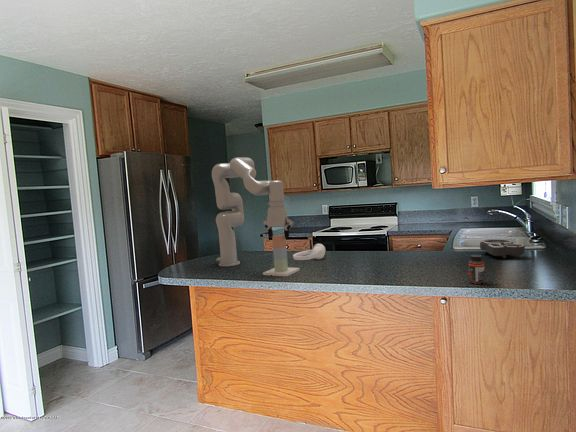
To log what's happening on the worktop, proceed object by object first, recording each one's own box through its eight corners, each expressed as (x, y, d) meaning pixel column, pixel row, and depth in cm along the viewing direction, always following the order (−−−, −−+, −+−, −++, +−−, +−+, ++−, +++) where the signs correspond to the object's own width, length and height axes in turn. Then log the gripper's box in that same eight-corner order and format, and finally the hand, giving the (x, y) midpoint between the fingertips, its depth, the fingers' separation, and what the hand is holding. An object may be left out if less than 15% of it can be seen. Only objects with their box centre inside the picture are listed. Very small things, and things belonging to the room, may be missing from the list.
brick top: (273, 248, 208) (272, 236, 207) (277, 246, 212) (277, 235, 212) (281, 248, 205) (280, 236, 205) (286, 246, 210) (285, 235, 209)
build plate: (262, 275, 207) (261, 261, 207) (276, 269, 219) (275, 255, 219) (286, 276, 200) (285, 262, 200) (299, 270, 212) (298, 256, 212)
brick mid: (273, 259, 208) (272, 248, 208) (278, 257, 213) (277, 246, 212) (282, 260, 206) (281, 248, 205) (287, 258, 210) (286, 246, 210)
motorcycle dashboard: (475, 252, 228) (475, 239, 228) (506, 250, 226) (505, 238, 226) (494, 261, 202) (493, 247, 202) (528, 259, 200) (528, 245, 200)
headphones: (326, 253, 254) (295, 258, 257) (324, 241, 253) (293, 246, 256) (325, 260, 234) (291, 264, 237) (323, 246, 234) (289, 251, 237)
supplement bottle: (466, 281, 168) (465, 254, 167) (480, 280, 168) (479, 253, 168) (473, 285, 162) (472, 257, 161) (488, 284, 163) (487, 256, 162)
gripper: (258, 205, 209) (260, 238, 210) (288, 205, 200) (289, 239, 202) (266, 204, 215) (268, 236, 217) (295, 203, 206) (296, 237, 208)
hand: (278, 237), depth 209 cm, fingers open, 9 cm apart
